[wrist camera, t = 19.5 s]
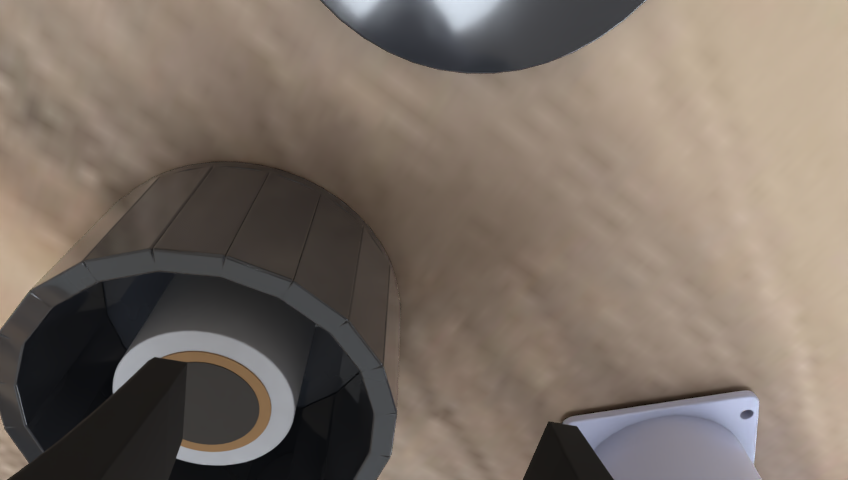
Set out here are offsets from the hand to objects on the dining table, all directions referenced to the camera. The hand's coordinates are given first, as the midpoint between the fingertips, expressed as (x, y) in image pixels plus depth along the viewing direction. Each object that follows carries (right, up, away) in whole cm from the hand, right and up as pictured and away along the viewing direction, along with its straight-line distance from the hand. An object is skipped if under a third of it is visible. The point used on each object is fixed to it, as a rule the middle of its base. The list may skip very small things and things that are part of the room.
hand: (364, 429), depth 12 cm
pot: (-5, +1, +11) cm, 12 cm away
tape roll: (-5, +1, +11) cm, 12 cm away
